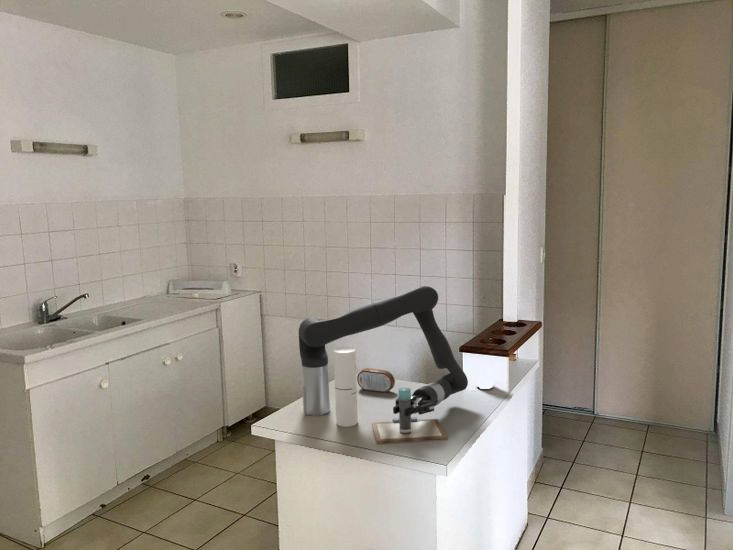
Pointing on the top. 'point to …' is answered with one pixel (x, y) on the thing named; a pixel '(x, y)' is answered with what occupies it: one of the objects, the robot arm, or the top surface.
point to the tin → (376, 380)
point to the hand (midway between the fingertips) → (400, 412)
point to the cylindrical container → (345, 386)
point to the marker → (404, 404)
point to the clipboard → (419, 432)
